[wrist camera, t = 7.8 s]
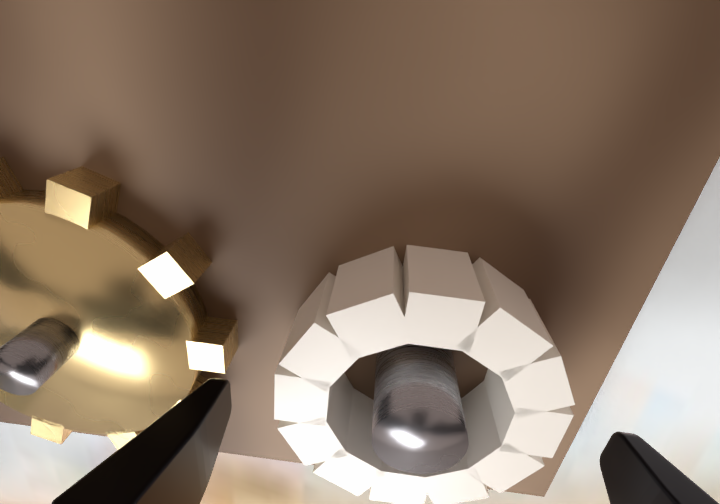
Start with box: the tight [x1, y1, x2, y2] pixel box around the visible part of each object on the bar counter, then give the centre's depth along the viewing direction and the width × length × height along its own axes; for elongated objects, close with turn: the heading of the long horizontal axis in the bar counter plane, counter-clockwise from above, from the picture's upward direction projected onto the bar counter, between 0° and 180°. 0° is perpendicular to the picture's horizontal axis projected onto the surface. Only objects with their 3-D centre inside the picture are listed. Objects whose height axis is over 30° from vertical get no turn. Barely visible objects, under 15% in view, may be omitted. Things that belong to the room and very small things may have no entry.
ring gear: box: [274, 245, 575, 504], centre depth 10 cm, size 6×6×2 cm
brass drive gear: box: [0, 157, 239, 450], centre depth 10 cm, size 8×8×2 cm
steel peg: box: [371, 344, 469, 474], centre depth 9 cm, size 2×2×3 cm
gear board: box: [0, 0, 720, 497], centre depth 10 cm, size 20×18×2 cm
